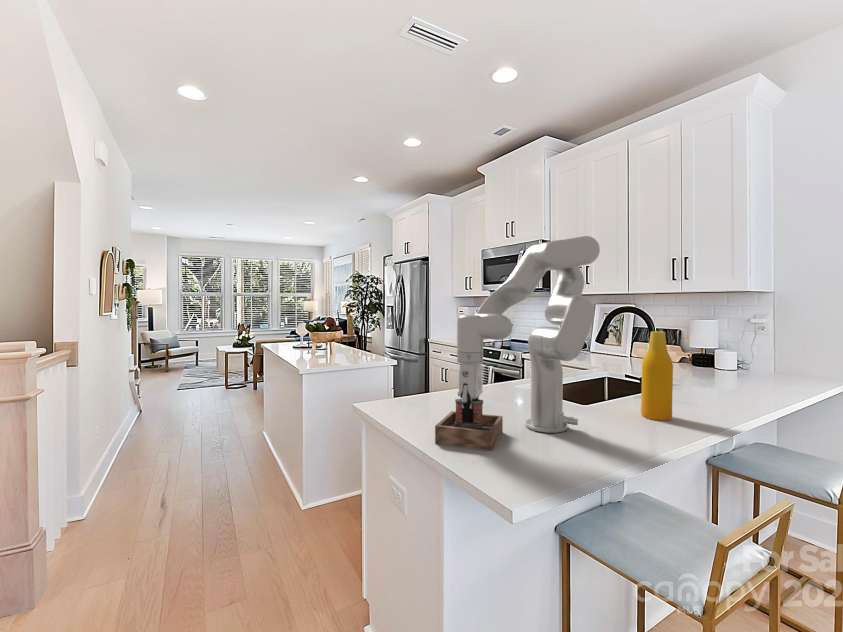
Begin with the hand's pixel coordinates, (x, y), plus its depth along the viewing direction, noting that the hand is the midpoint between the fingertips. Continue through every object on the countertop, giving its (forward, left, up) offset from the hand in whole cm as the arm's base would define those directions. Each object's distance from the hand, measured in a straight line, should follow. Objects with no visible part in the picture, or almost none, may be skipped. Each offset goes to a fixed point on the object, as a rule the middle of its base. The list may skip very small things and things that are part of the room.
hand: (469, 419), depth 121 cm
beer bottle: (-54, -42, -6) cm, 69 cm away
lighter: (0, 0, -2) cm, 2 cm away
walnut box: (0, 0, -5) cm, 5 cm away
